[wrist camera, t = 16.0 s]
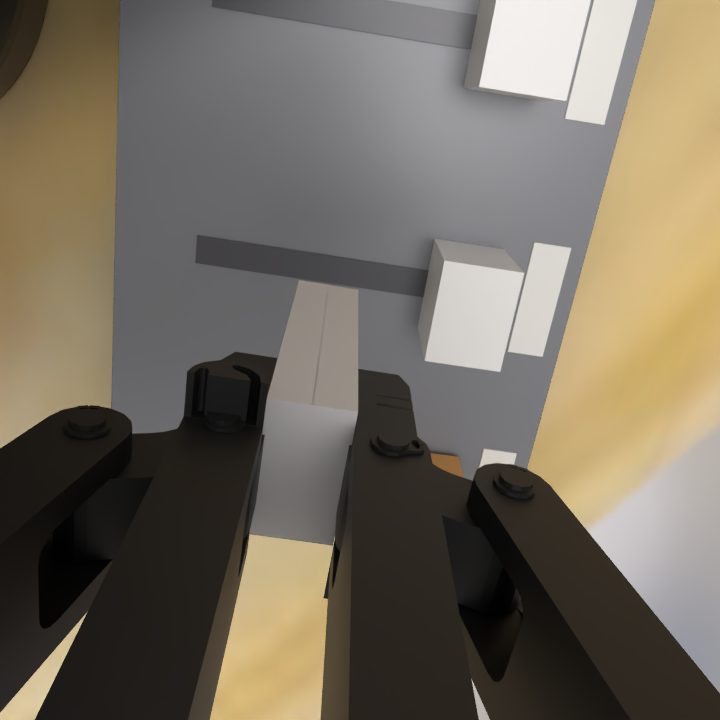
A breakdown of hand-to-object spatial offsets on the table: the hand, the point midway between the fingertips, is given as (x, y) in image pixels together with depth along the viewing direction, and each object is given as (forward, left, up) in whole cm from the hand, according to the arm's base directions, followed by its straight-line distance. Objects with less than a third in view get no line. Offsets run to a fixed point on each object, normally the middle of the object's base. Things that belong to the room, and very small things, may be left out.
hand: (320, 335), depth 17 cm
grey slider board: (0, -1, -15) cm, 15 cm away
